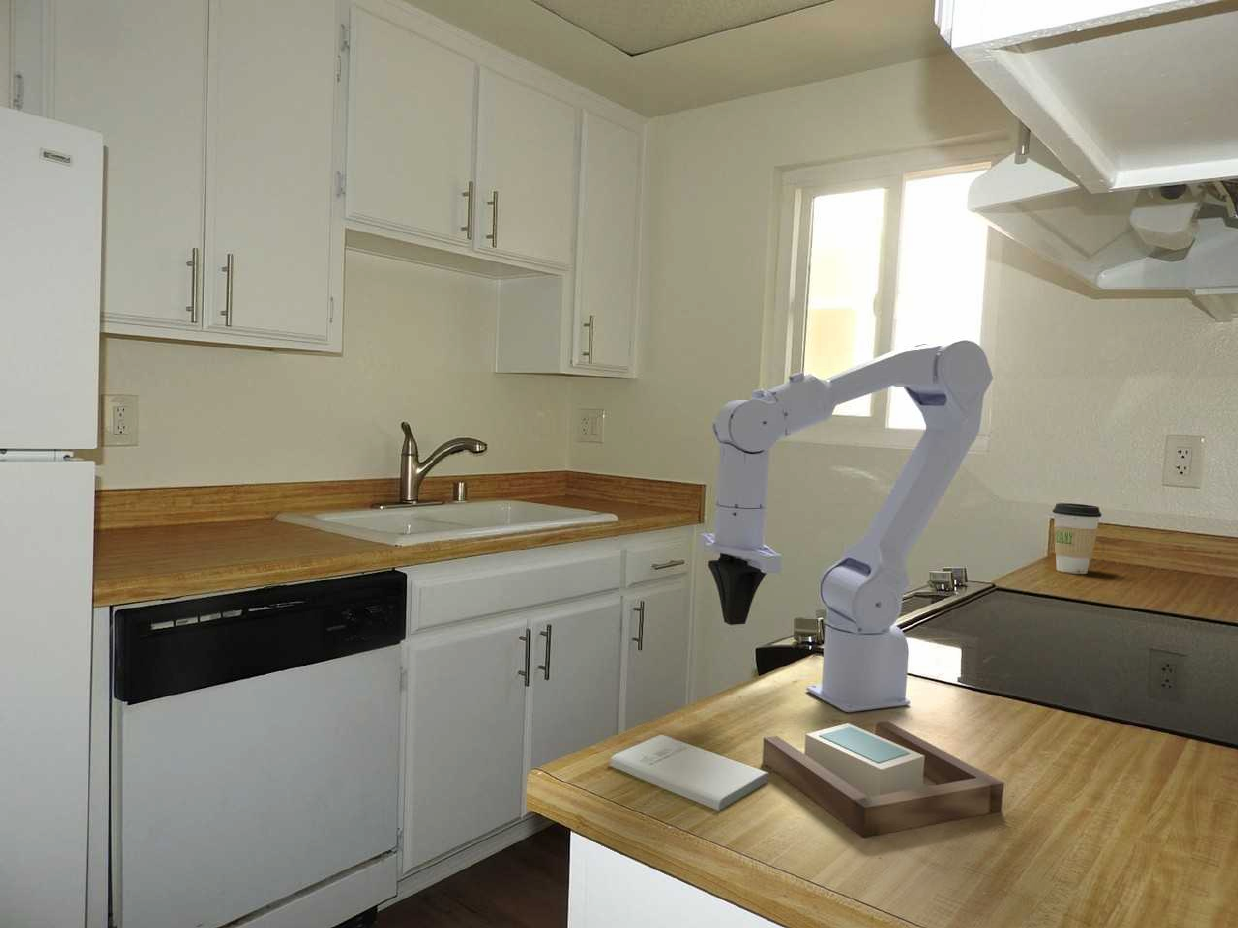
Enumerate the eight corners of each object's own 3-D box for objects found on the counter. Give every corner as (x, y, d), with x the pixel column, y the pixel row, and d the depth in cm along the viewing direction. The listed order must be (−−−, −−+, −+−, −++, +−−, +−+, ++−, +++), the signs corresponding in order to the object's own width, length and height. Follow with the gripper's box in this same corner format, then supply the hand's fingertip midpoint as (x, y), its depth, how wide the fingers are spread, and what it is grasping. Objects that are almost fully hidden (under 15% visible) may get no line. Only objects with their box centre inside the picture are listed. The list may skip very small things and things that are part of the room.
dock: (886, 744, 89) (887, 721, 89) (1001, 810, 76) (1003, 782, 75) (762, 762, 83) (763, 737, 83) (863, 837, 70) (865, 807, 70)
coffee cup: (1049, 565, 202) (1054, 501, 201) (1097, 570, 198) (1102, 505, 196) (1046, 571, 194) (1051, 505, 193) (1096, 577, 189) (1101, 509, 188)
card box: (845, 756, 87) (847, 721, 86) (921, 792, 79) (924, 754, 79) (803, 769, 83) (805, 732, 83) (878, 807, 76) (881, 768, 76)
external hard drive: (718, 818, 73) (608, 771, 81) (768, 788, 80) (662, 747, 88) (719, 800, 73) (609, 754, 81) (769, 770, 79) (663, 731, 88)
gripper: (680, 497, 103) (675, 609, 104) (744, 514, 90) (737, 642, 91) (731, 497, 106) (725, 606, 107) (800, 514, 93) (793, 638, 94)
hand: (734, 622), depth 99 cm, fingers closed
